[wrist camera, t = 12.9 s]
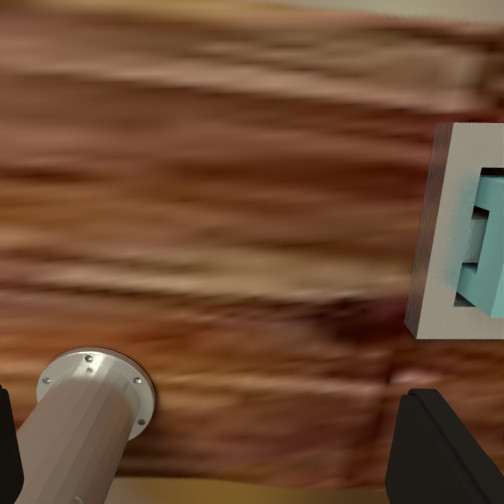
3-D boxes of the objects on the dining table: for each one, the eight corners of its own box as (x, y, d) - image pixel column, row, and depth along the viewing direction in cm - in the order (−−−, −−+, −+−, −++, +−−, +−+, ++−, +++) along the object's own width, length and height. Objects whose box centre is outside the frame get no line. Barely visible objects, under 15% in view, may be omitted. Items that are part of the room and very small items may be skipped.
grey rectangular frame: (516, 323, 40) (537, 339, 37) (404, 323, 39) (416, 338, 37) (569, 124, 33) (599, 124, 30) (435, 122, 33) (453, 122, 30)
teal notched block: (486, 284, 38) (537, 318, 32) (447, 284, 38) (490, 317, 31) (511, 175, 35) (574, 187, 28) (469, 174, 35) (522, 186, 28)
